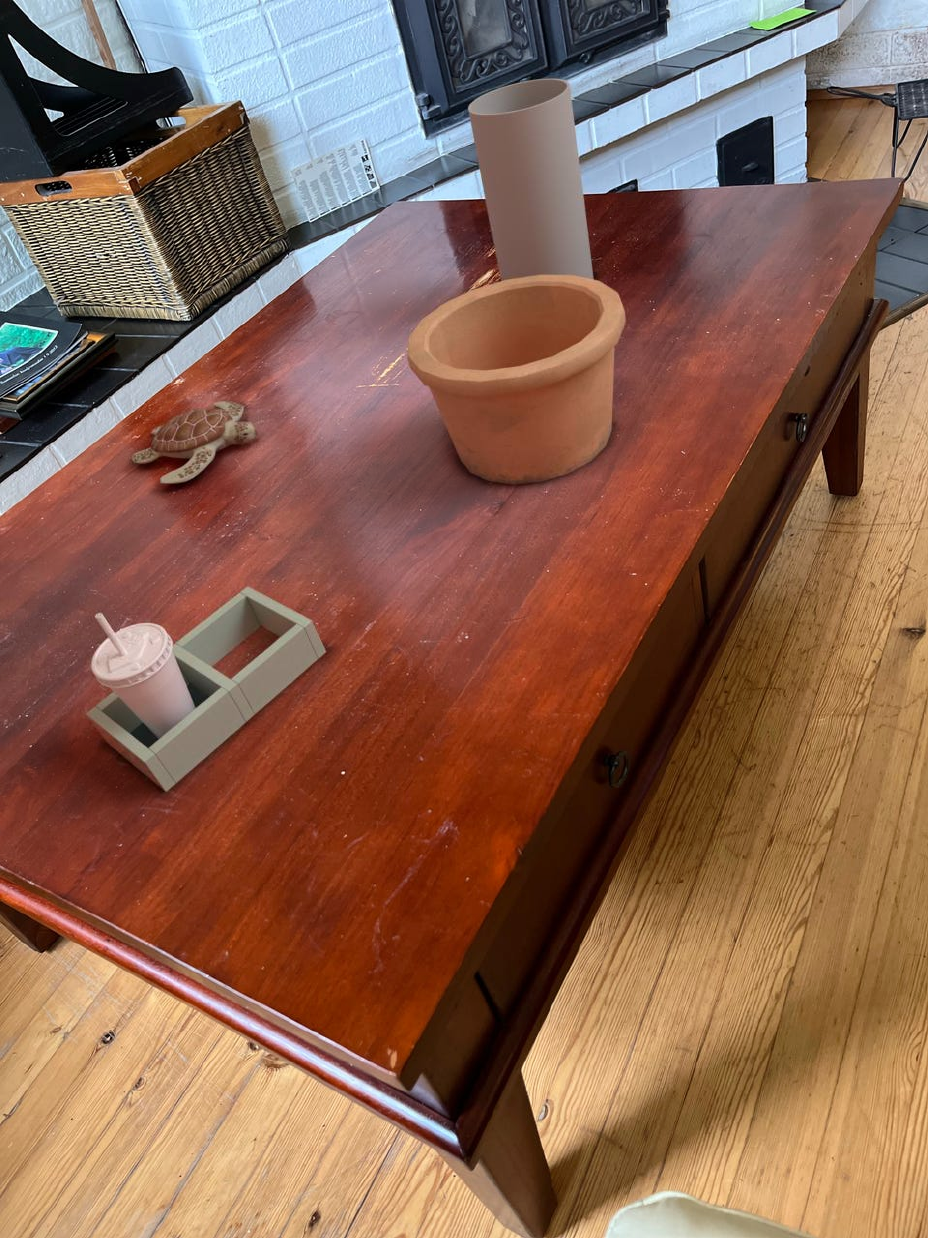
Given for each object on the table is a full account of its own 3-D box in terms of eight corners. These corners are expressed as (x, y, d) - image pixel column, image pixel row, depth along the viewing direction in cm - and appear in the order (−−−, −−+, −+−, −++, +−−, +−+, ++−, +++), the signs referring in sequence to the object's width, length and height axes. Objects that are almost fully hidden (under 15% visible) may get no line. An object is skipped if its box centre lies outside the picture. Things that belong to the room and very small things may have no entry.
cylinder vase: (487, 301, 130) (448, 110, 113) (554, 265, 134) (525, 75, 117) (543, 322, 121) (510, 118, 104) (613, 283, 125) (591, 81, 108)
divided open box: (170, 798, 74) (144, 762, 71) (111, 749, 80) (85, 713, 76) (329, 658, 82) (312, 620, 79) (265, 622, 88) (247, 585, 85)
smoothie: (128, 750, 78) (44, 634, 68) (172, 694, 82) (98, 577, 72) (187, 764, 75) (108, 645, 66) (229, 706, 79) (160, 586, 70)
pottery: (491, 386, 112) (467, 272, 102) (665, 399, 101) (656, 274, 92) (402, 491, 99) (365, 372, 90) (590, 518, 89) (570, 387, 79)
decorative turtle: (235, 488, 107) (218, 452, 104) (115, 495, 112) (95, 462, 109) (286, 405, 120) (272, 370, 116) (176, 415, 124) (160, 382, 121)
